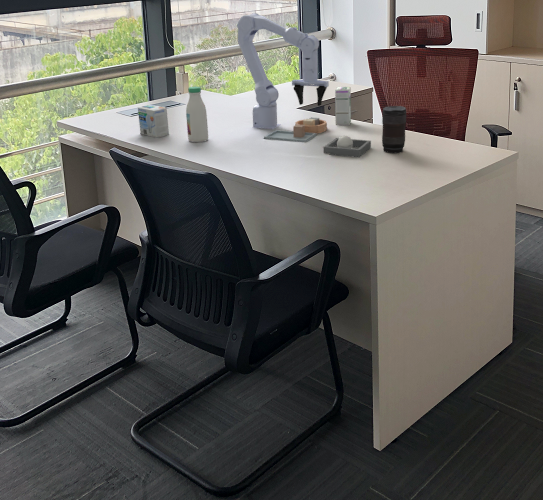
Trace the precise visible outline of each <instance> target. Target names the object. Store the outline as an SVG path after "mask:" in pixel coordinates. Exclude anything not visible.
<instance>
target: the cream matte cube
mask: <svg viewBox="0 0 543 500" xmlns="http://www.w3.org/2000/svg"><path fill="white" fill-rule="evenodd" d="M304 119H305V118H304ZM304 119H302V120H303V125H305V126H315V119H309V118H306V119H305V120H304Z"/></svg>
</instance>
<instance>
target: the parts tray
mask: <svg viewBox="0 0 543 500" xmlns="http://www.w3.org/2000/svg"><path fill="white" fill-rule="evenodd" d="M316 136H317V133H307V132H305V136H304V137H294V134H293V131H291V130H283V129H281V130H279V129H275V130H273V131H272V132H269V133H268V134H266V135H264V136H263V139H264V140H274V141H275V140H276V141H286V142H297V143H298V142H301V143H306V142H308V141H310V140H312V138H315V137H316Z"/></svg>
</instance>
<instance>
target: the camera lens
mask: <svg viewBox="0 0 543 500" xmlns="http://www.w3.org/2000/svg"><path fill="white" fill-rule="evenodd" d="M381 115H382V119H381V124H382V133H381V134H382V135H381V141H382V142H381V144H382V149H383V152H385V153H388V154H399V153H403V151H404V147H405V144H406V124H407V108H406V107H405V106H402V105H390V106H385V107H383V108H382V114H381Z"/></svg>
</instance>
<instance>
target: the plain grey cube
mask: <svg viewBox="0 0 543 500" xmlns="http://www.w3.org/2000/svg"><path fill="white" fill-rule="evenodd" d="M308 119H315V125H319V119H320V117H309V118H308Z"/></svg>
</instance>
